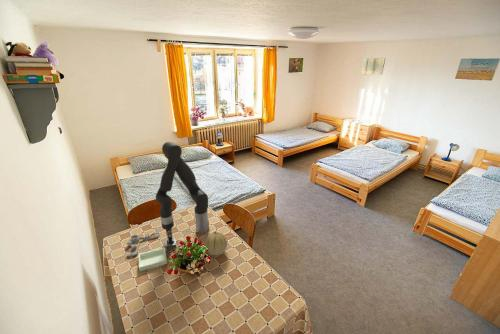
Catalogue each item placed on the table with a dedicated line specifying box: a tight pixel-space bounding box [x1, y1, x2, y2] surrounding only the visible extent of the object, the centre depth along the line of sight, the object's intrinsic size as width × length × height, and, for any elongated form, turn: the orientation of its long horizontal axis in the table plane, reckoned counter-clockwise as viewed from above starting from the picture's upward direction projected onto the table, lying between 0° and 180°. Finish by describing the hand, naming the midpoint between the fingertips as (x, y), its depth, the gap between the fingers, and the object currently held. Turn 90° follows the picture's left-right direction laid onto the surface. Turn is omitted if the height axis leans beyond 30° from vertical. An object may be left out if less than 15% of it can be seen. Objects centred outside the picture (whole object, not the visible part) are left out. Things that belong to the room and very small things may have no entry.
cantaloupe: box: [204, 231, 228, 256], centre depth 160 cm, size 15×15×15 cm
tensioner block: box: [164, 237, 178, 251], centre depth 167 cm, size 7×7×3 cm
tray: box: [138, 246, 168, 272], centre depth 155 cm, size 16×12×3 cm
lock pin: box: [165, 232, 174, 245], centre depth 165 cm, size 4×4×11 cm
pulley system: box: [126, 230, 160, 258], centre depth 169 cm, size 27×5×15 cm
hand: (170, 240), depth 166 cm, fingers closed on lock pin, 3 cm apart
